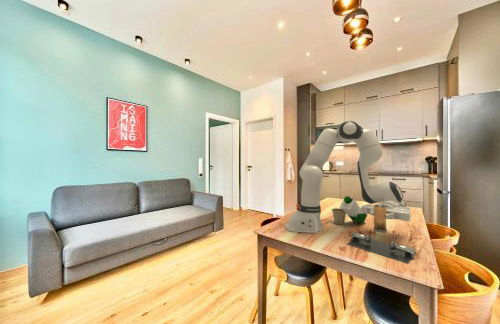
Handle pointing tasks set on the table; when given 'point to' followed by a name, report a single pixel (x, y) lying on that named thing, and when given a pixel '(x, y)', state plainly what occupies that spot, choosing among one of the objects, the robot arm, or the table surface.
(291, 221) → the robot arm
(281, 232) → the table surface
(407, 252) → the shaft bench
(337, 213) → the flower pot
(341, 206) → the milk carton
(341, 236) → the table surface
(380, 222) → the amber capped cylinder
